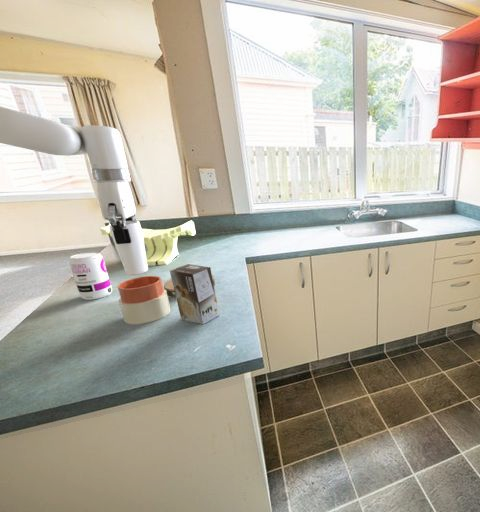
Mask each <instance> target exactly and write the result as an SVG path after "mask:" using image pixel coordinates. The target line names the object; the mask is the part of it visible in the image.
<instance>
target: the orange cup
mask: <svg viewBox="0 0 480 512" xmlns="http://www.w3.org/2000/svg"><path fill="white" fill-rule="evenodd" d="M117 290H118V294H119V299H120V298H121V301H122V302H123V303H127V304H134V303H141V302H146V301H149V300H153V299H155V298H158V297H159V296H161V295H163V293H164V283H163V280H162V278H161V277H160V276H158V275H144V276H139V277H134V278H130V279H127V280H124V281H122V282H120V283H119V284H118V285H117Z"/></svg>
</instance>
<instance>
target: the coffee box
mask: <svg viewBox="0 0 480 512" xmlns="http://www.w3.org/2000/svg"><path fill="white" fill-rule="evenodd" d="M169 273H170V279H172V282H173V287H174V291H175V295H176V297H175V299H176V303H177V307H178V311H179V315H180V320H182V321H186V322H191V323H196V324H201V325H204V324H205V325H206V324H207V323H209V322H210V321H211V320H213V319H215V318H217V317H219V316H220V312H219V305H218V301H217V295H216V290H215V286H214V284H213V279H212V275H213V274H212V267H211V266H203V265H199V264H190V263H187V264H184V265H181V266H179V267H176V268H174V269H171V270H169Z"/></svg>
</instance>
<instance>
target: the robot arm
mask: <svg viewBox="0 0 480 512" xmlns="http://www.w3.org/2000/svg"><path fill="white" fill-rule="evenodd" d="M119 131H120V130H118V129H117V128H115V127H113V126H107V125H93V124H92V125H91V124H89V125H83V126H78V125H69V124H65V123H62V122H59V121H56V120H52V119H48V118H44V117H40V116H36V115H33V114H29V113H26V112H22V111H18V110H14V109H11V108H8V107H4V106H0V144H3V145H8V146H12V147H17V148H21V149H26V150H31V151H34V152H39V153H43V154H46V155H47V154H48V155H52V156H67V157H68V156H79V155H80V156H81V155H86V156H87V160H88V164H89V167H90V172H91V174H92V178H93V181H94V183H96V191H97V196H98V201H99V206H100V212H101V215H102V218H103V220H105V221H109V224H110V225H111V228H112V230H113V233H114V237H115V241H116V243H117V244H126V243H131V238H130V234H129V230H128V229H126V221H137V217H136V213H137V209H136V204H135V200H134V196H133V193H132V189H131V186H130V184H129V182H132V178H131V173H130V168H129V165H128V161H127V157H126V153H125V148H124V144H123V140H122V137H121V132H119ZM121 221H122V224H121V223H120V222H121Z"/></svg>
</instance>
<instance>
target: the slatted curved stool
mask: <svg viewBox="0 0 480 512" xmlns="http://www.w3.org/2000/svg"><path fill="white" fill-rule="evenodd" d="M100 232H101V235H102V236H105V235H106V236H107V235H109V236H110V238H112V235H111V232H110V227H109V225H106V226H103V227H100ZM142 232H143V238H144V245H145V248H146V249H147V251H146V260H147V265H148V267H149V266H157V265H158V266H165V265H169V264H170V263H171V262H173V261H174V260H175V259H176V258H175V257H176V256H177V255H179V256H180V254H179V250H178V237H180V236H187V235H188V236H191V237H193V236H195V235H196V234H197V232H196V226H195V222H194V221H193V220H189V221H187V222H185V223H183V224H181V225H178V226H176V227H171V228H166V229H165V228H164V229H150V228H142ZM174 258H175V259H174ZM173 259H174V260H173ZM172 260H173V261H172Z"/></svg>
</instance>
